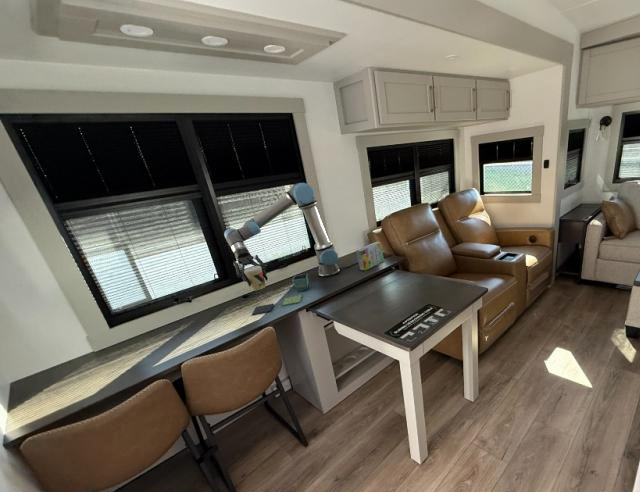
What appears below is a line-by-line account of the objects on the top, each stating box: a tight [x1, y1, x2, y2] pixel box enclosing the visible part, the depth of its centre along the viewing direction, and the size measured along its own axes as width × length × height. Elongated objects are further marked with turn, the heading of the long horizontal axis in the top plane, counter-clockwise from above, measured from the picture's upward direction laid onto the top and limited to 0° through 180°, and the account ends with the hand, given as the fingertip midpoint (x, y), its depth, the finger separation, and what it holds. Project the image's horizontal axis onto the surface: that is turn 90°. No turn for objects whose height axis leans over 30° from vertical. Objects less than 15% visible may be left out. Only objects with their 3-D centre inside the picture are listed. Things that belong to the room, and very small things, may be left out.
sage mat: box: [281, 294, 303, 307], centre depth 189 cm, size 10×10×1 cm
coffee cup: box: [244, 265, 267, 292], centre depth 179 cm, size 9×9×12 cm
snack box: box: [355, 241, 385, 272], centre depth 228 cm, size 21×6×15 cm, turn 141°
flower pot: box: [291, 273, 310, 292], centre depth 203 cm, size 9×9×9 cm
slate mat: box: [251, 303, 275, 316], centre depth 183 cm, size 10×10×1 cm
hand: (258, 282), depth 178 cm, fingers closed on coffee cup, 9 cm apart
